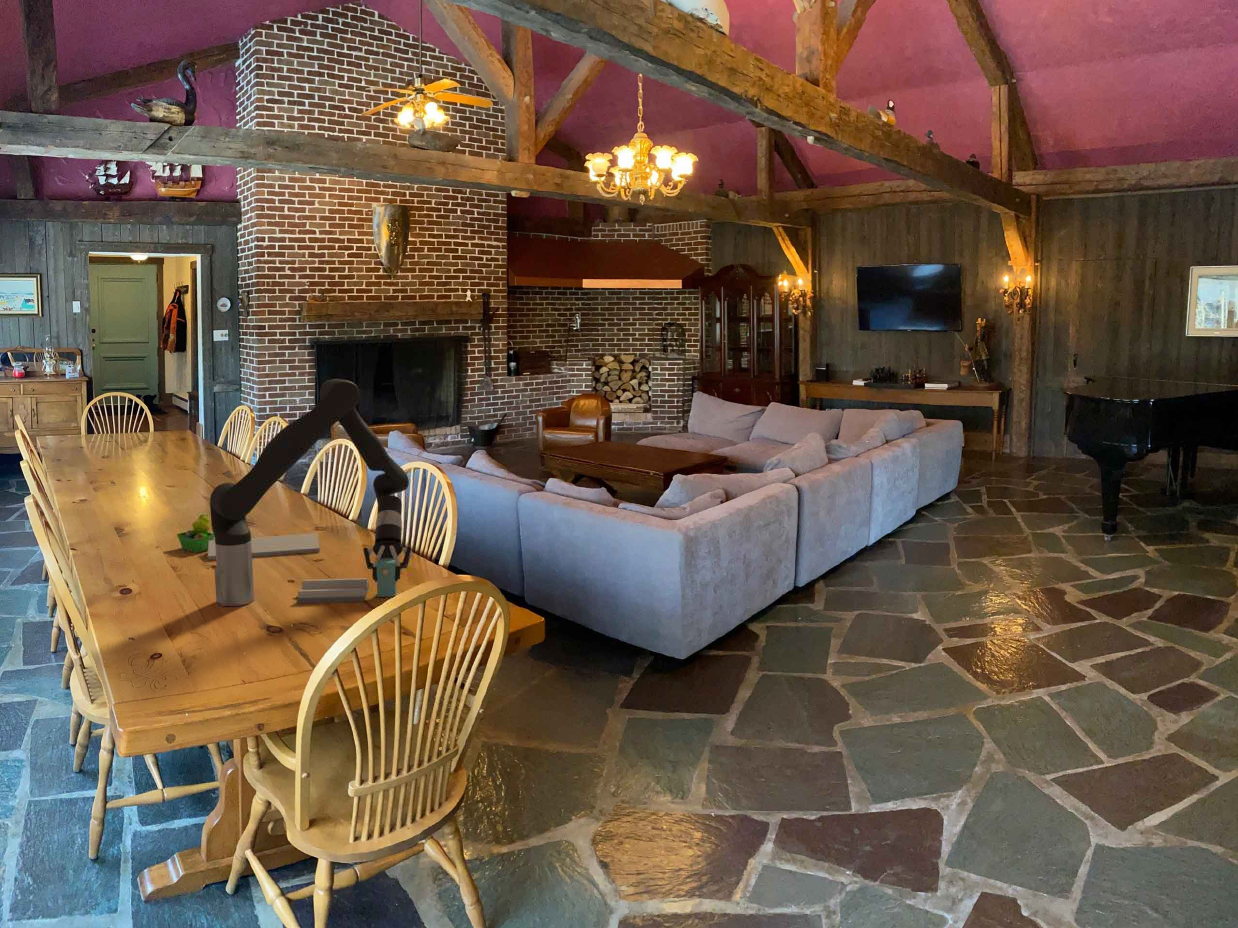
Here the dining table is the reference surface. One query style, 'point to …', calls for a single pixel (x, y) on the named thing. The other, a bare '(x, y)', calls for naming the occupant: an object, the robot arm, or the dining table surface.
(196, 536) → the fruit basket
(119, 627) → the dining table surface
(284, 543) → the light grey long block
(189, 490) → the dining table surface
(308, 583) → the cleat board
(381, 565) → the teal cabinet block
